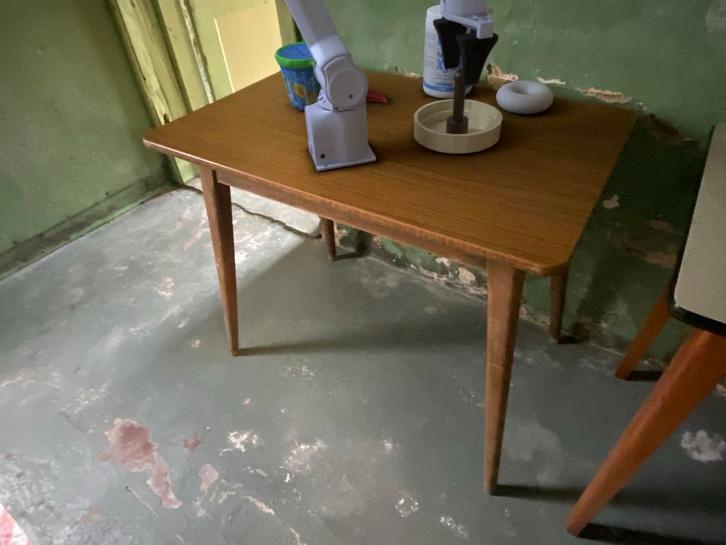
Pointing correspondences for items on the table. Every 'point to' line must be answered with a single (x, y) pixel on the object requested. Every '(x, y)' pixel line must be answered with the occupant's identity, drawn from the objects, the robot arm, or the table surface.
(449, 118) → the pestle
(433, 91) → the supplement tub
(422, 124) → the bowl
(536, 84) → the donut
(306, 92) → the snack cup
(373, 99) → the red curved leaf
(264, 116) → the table surface
